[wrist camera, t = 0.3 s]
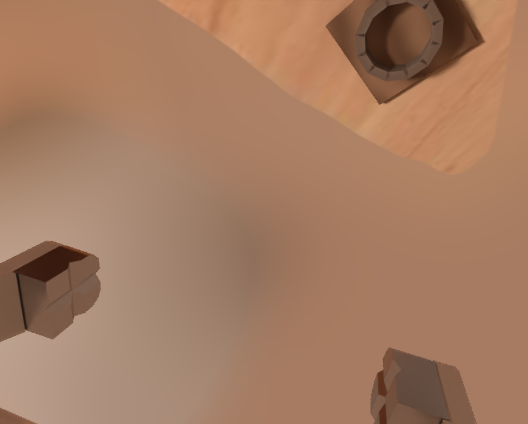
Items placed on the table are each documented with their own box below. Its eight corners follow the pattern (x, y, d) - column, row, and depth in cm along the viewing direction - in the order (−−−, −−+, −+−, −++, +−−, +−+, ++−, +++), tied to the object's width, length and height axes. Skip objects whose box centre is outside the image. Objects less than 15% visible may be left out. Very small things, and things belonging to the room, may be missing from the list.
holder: (422, -60, 40) (422, -59, 37) (476, 40, 44) (480, 48, 42) (326, 24, 49) (321, 30, 46) (380, 102, 53) (378, 112, 50)
